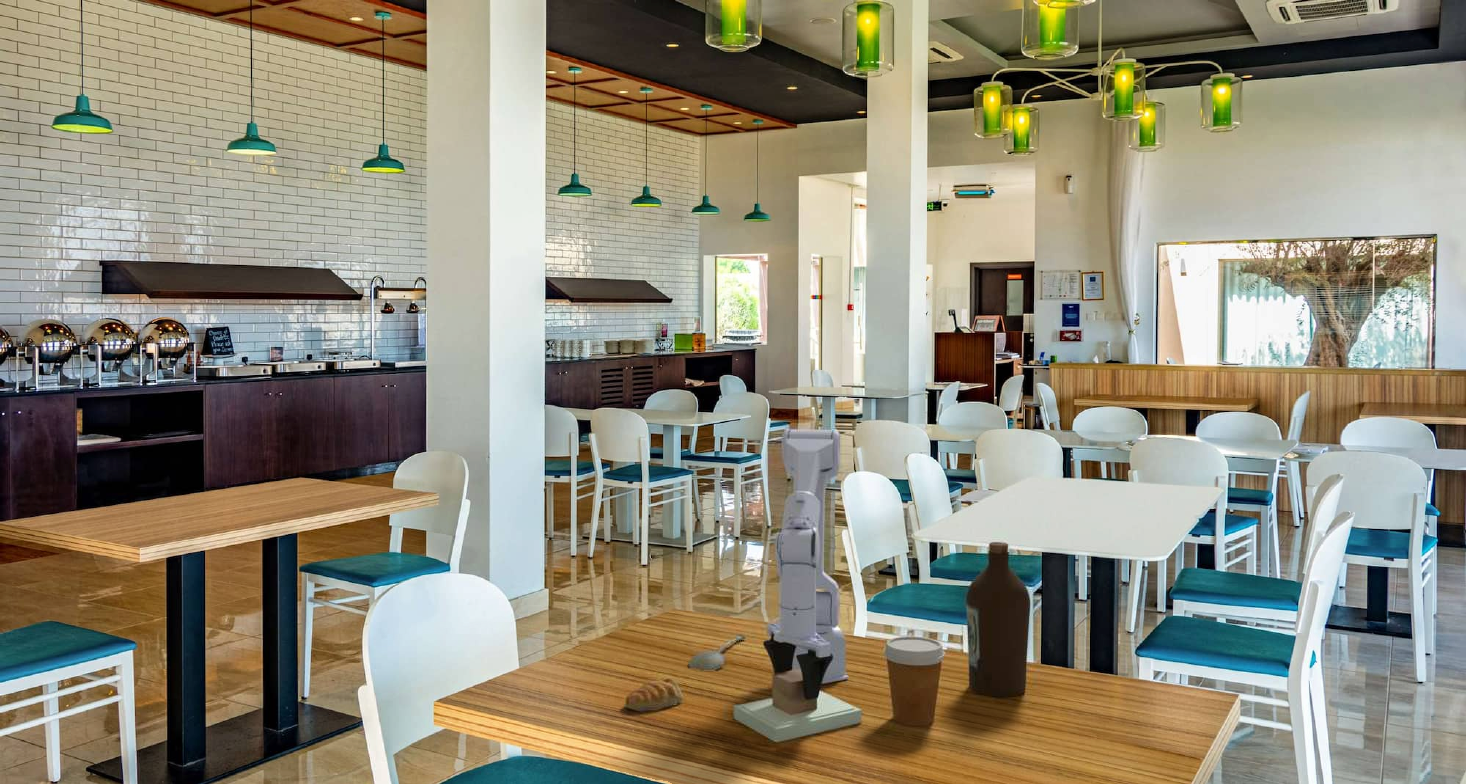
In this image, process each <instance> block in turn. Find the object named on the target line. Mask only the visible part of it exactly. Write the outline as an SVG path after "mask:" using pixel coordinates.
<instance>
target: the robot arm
mask: <svg viewBox="0 0 1466 784" xmlns="http://www.w3.org/2000/svg"><path fill="white" fill-rule="evenodd" d="M781 457H782V462H783V465H784V467H785V470H786V472H787V475H789V476H791V477H793V493H790V494H788V496H787V497H786V499H785V503H784V509H783V515H782V517H783V518H782V525H781V531H778V532H777V534H776V538H775V559H776V566H777V569H776V570H777V577H779V579H778V580H779V581H778V583H779V585H778V588H779V591H778V592H779V593H778V596H779V597H778V599H779V602H778V603H779V604H778V605H779V606H778V607H779V609H778V611H779V612H778V613H779V614H778V615H779V616H778V619H779V622H771V623H766V636H768V637H769V639H767V640H764V641H763V642H762V643H763V647H764V649H765V650H766V652H767V654H768V657H769V659H770V661H771V665H772V668H773V672H774V673H773V674H776V673H781V672H786V671H791V670H796V669H800V670H801V672H802V678H803V690H804V696H805V699H807V700H810V699H815V698H818V696H819V692H820V691H821V687H822V685H825V684H829V683H835V682H838V681H843V680H848V679H849V675H847V672H846V671H847V668H846V667H847V664H846V663H847V661H846V658H847V655H846V653H847V652H846V651H847V648H846V647H847V646H846V645H847V644H846V643H847V642H846V637H845V635H844V632H843V631H842V629H841V628H840V627H839V626H838V625H839V624H840V612H841V611H840V607H841V605H840V604H841V603H840V599H841V598H840V594H839V593H840V587H839V585H838V583H837V581H836V580H835V579H833V578H832V577H831V576H829V575H828V574H827V573H826V572H825V571H824V569H825V567H824V566H825V565H824V564H825V562H824V561H825V522H826V520H825V516H826V515H825V514H826V513H825V512H826V511H825V510H826V508H825V507H826V489H827V487H828V484H829V483H828V482H829V480H831V479H832V478H834V477H837V476H838V475H839V471H840V463H841V462H840V459H841V434H840V432H839V431H838V429H837V428H834V429H794V428H793V429H791V428H785V430H784V431H783V433H782V438H781ZM819 590H826V591H819Z"/></svg>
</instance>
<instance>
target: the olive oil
mask: <svg viewBox="0 0 1466 784" xmlns="http://www.w3.org/2000/svg"><path fill="white" fill-rule="evenodd" d="M988 548H989V550H988V554H987V555H988V558H987V559H988V564H987V565H986V567H985V568H984V569H983V570H982V571H981V572H980V573H979V574H978V575H977V576H976V577H975V578H974V579H973V580H972V581H971V583H970V585H969V586H968V589H967V593H966V597H965V598H966V600H965V603H966V605H965V606H966V607H965V608H966V626H967V627H966V628H967V629H966V630H967V655H968V685H969V686H968V687H969V688H970V689H971V690H972V691H973V692H975V693H977V694H980V695H984V696H989V697H997V698H998V697H999V698H1008V697H1009V698H1010V697H1018V696H1021V695H1023V694H1024V693H1025V692H1026V689H1027V684H1026V683H1027V668H1028V667H1027V665H1028V663H1027V661H1028V648H1029V647H1028V646H1029V645H1028V643H1029V632H1030V631H1029V629H1030V616H1031V615H1030V613H1031V597H1030V593H1029V590H1028V588H1027V586H1026V585H1025V583H1024V582H1023V581H1022V579H1021V578H1020V577H1019V576H1018V575H1017V574H1016V573H1015V572H1014V571H1013V570H1012V569H1011V567H1010V565H1009V561H1010V560H1009V558H1010V552H1009V543H1007V542H1002V541H1001V542H1000V541H998V542H997V541H992V542H990V543H989V544H988Z"/></svg>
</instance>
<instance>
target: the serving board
mask: <svg viewBox="0 0 1466 784" xmlns="http://www.w3.org/2000/svg"><path fill="white" fill-rule="evenodd" d="M862 713H863V710H862V709H861V708H858V707H856V706H854V705H852V704H851V703H850V704H849V703H848V702H846V701H844V700H842V699H839V698H838V697H835V696H833V695H831V694H829V693H826V692H824V691H822V690H820V692H819V696H818V698H817V709H815V710H811V711H806V712H802V713H797V714H792V715H790V714H788V713H786V712H784V711H782V710H780V709H778V708H776V707H774V706H772V697H770V698H766V699H762V700H761V699H759V700H757V701H755V700H754V701H751V702H747V703H742V704H737V705H736V704H735V705H734V706H733V719H734V720H736V721H738V722H739V723H741V724H743V725H745V726H747V727H748V728H750V729H751V730H754V732H756V733H759V734H760V735H762V736H764V737H766V738H768V739H769V740H771V741H773V742H775V743H780V742H785V741H788V740H793V739H797V738H802V737H805V736H810V735H815V734H818V733H823V732H827V731H832V730H836V729H840V728H844V727H849V726H852V725H858V724H861V723H863V720H862V718H863V717H862V716H863V714H862Z"/></svg>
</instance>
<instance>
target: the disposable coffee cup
mask: <svg viewBox="0 0 1466 784" xmlns="http://www.w3.org/2000/svg"><path fill="white" fill-rule="evenodd" d="M883 653H884V654H883V655H884V656H885V658H886V664H887V672H888V682H889V683H888V684H889V689H890V691H889V692H890V698H891V699H890V700H891V706H892V716H893V720H895V722H896V723H900V724H902V725H905V726H916V727H919V726H920V727H921V726H927V725H930V724H933V722H934V721H935V715H936V714H935V713H936V706H937V700H938V693H939V692H938V691H939V684H940V677H941V670H942V661H943V660H944V657H945V656H946V652H945V650H944V649H943V644H942V643H941V642H940V641H939V640H937V639H934V638H933V639H932V638H929V637H925V636H913V635H910V636H906V635H905V636H898V637H893V638H890V639H887V641H886V644H885V647H884V649H883Z"/></svg>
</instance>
